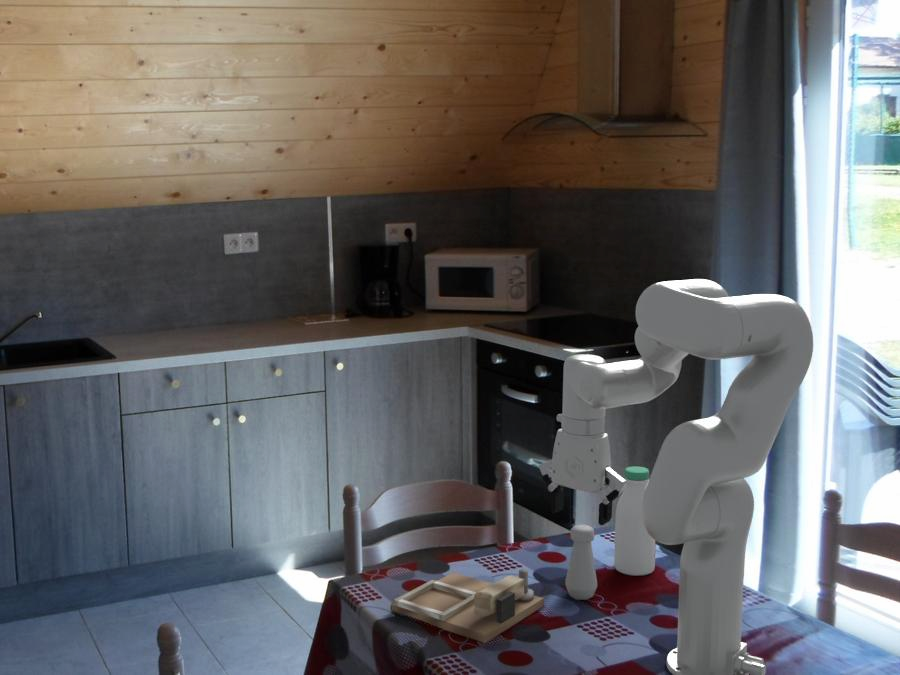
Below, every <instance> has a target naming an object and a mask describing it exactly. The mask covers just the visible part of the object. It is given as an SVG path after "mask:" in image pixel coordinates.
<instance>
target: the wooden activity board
mask: <svg viewBox="0 0 900 675" xmlns="http://www.w3.org/2000/svg"><path fill="white" fill-rule="evenodd" d="M518 578H522V579H524V596H522V597H520V598H519V599H517V600H515V593H513V592H508V593H507V594H505V595H503V596H502V597H500V598H498V599H497V611H496V612H494V613H493V614H491V615H489V616H478V615H476V614H475V613H474V595H475V594H476V593H478V592H479V591H481V590H483V589H485V588H487V587H489V586H491V585H493V584H494V583H492V582H488V581H484V580H481V579H478V578H473V577H470V576H468V575H467V576H466V575H464V574H461V573H460V574H459V573H456V572H451V573H449V574H447V575H446V576H443V577H442V578H440V579H438V580H434V579H431V580H428V582H425V583H423V584H421V585H419V586H418V587H416V588H413V589H412V590H410V591H408V592H406V593H404V594H402V595H400V596H398V597H396V598H394V599H393V603H392V604H391V611H392V610H393V611H396V612H399V613H402V614H405V615H408V616H411V617H413V618H416V619H419V620H422V621H424V622H426V623H429V624H431V625H430V626H432V625H434V626H433V627H435V626H437V627H436V628H438V627H439V628H438V629H441V628H442V629H441V630H444V631H447V632H450V633H454V634H457V635H460V636H462V637H466V638H469V639H471V640H476V641H478V642H481V643H484V644H486V643H488V642H489V641H491V640H492V639H494V638H496V637H497V636H499V635H500V634H501V633H503V632H505V631H507V630H508V629H510V628H512V627H513V626H515V625H516V624H518V623H519V622H521V621H522V620H524V619H526V618H527V617H529V616H531V615H533V613H535V612H537V611H539V610H540V609H542V608H543V607H544V606H545V605H544V603H545V598H544V597H541V596H538V595H536V594H535V595H534V590H533V589H531V588H529V570H528V569H524V568H523V569H519V570H518ZM426 623H425V624H426ZM429 624H428V625H429Z"/></svg>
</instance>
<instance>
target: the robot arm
mask: <svg viewBox="0 0 900 675" xmlns="http://www.w3.org/2000/svg"><path fill="white" fill-rule="evenodd" d="M636 302H637V303H636V305H635V320H636V323H637V325H638V327H637V328H636V329H635V333H634V343H635V347H636V350H637V351H638V353H639V354H640V356H641V357H639V358H638V359H630V360H623V361H615V362H610V363H607V362H606V360H605V359H604V358H603V357H601V356H599V355H595V354H589V353H588V354H585V353H584V354H582V353H580V354H573V355H570V356H568V357H567V358H566V359H565V360H564V363H563V374H562V377H563V378H562V379H563V380H562V381H563V382H562V413H558V414H557V415H556V421H557V422H560V423H561V425H560V426H561V428H558V430H557V431H556V435H555V439H554V440H555V441H554V445H553V451H552V458H551V459H550V460H547V461H544V462H542V463H540V464H538V468H539V471H540V473H541V475H542V479H543V482H545V484H546V485H547V489H548V491H549V492H550V507H551V508H550V510H551V514H556V513H558V512H560V511H563V510H564V503H565V502H564V501H565V500H564V499H565V496H564V495H565V490H564V488H567V489H573V490H577V491H581V492H584V493H592V494H597V496H598V498H599V499H600V501H601V502H600V503H599V504H598V523H597V524H599V525H600V526H604V525H606V524H607V523H609V522H610V521H611V519H612V518H613V502H614V501H615V500H616V499H617V498H619V496H621V495H622V493H623V491H624V488H625V486H626V485H627V481H626V480H625V478H623V477H622V476H621V475H620V474H618V473H617V472H616V471H614V470H613V469H612V457H611V448H610V446H611V445H610V442H609V440H610V439H609V436H608V433H605V431H606V410H607V409H613V408H619V407H623V406H629V405H637V404H642V403H643V404H644V403H648V402H650V401H652V400H654V399H656V398H657V397H659V396H661V394H663V393H664V392H665V391H666V390H669V388H670V387H671V386H673V385H674V384H675V382H676V381H677V379H678V378H679V376H680V372H681V369H682V362H683V360H684V359H685V357H687V356H688V355H691V356H695V357H698V358H701V359H705V360H714V361H716V360H726V359H727V360H728V359H735V358H743V357H750V356H752V358H751V360H750V361H749V362H748V363H747V364H746V365H745V367H744V368H743V369H742V370H741V371H740V372H739V373H738V374H737V375H736V376H735V378H734V379H733V381H732V383H731V384H730V386H729V388H728V391H727V394H726V397H725V398H724V401H723V403H722V405H721V407H720V408H719V410H718V412H716V413H715V414H714V415H712V416H709V417H706V418H699V419H693V420H689V421H685V422H683V423H681V424H679V425H677V426H676V427H674V428H673V429H672V430H671V431H670V432H669V433H668V435H666V437H665V439H664V440H663V441H662V442H663V443H662V445H661V446H660V447H661V448H660V449H659V452H658V455H657V458H656V461H655V463H654V465H653V468H652V472H651V474H650V475H649V481H648V484H647V487H646V490H645V493H644V496H643V501H642V519H643V523H644V526H645V529H646V531H647V532H648V534H649V535H650V536H651V537H652V538H653V539H654V540H656V542H658V543H660V544H663V545H666V546H667V545H668V546H672V545H673V546H674V545H681V544H683V546H682V550H681V554H680V559H679V560H680V562H679V579H678V580H679V583H678V610H677V611H678V612H677V613H678V614H677V617H678V618H677V642H676V644H677V645H676V648H674V649H672V650H671V651H669V653H668V654H667V656H666V667H667V670H668V671H669V672H670V673H671V675H749V674H750V675H766V673H767V666H766V665H765V664H764V662H765V659H764V658H763V657H760V656H759V657H758V656H753V655H751V654H750V653H749V652H747V651H748V644H747V643H746V642H744V641H742V627H743V625H742V624H743V620H742V619H743V601H744V600H743V599H744V598H743V597H744V580H745V579H744V577H745V565H746V563H745V562H746V551H747V543H748V538H749V533H750V530H751V526H752V522H753V518H754V511H755V498H754V493H753V490H752V488H751V486H750V485H749V482H747V480H746V479H745V478H748V477H749V478H750V477H751V476H754V475H756V474H757V473H758V472H760V470H761V469H762V467H764V464H765V463H766V461H767V458H768V456H769V454H770V451H771V449H772V447H773V444H774V443H775V440H776V438H777V436H778V434H779V431H780V430H781V427H782V424H783V422H784V419H785V417H786V414H787V412H788V410H789V407H790V406H791V403H792V402H793V399H794V397H795V396H796V394H797V392H798V391H799V389H800V387H801V386H802V383H803V382H804V380H805V377H806V376H807V373H808V371H809V368H810V364H811V362H812V358H813V353H814V336H813V329H812V325H811V321H810V319H809V317H808V315H807V313H806V312H805V310H804V308H803V307H802V306H801V304H799V303H798V302H797V301H795V300H794V299H792V298H790V297H788V296H784V295H781V294H775V293H774V294H773V293H757V294H756V293H755V294H747V295H745V294H743V295H736V296H729V294H728V292H727V291H726V289H725V288H724V287H723V286H722V285H720V284H719V283H717V282H715V281H712V280H710V279H704V278H693V279H682V280H667V281H660V282H655V283H653V284H651V285H650V286H648V287H646V288H645V289H644V290H643V291H642V293H641V294H640V295H639V298H638V300H637V301H636ZM611 482H612V483H613V484H614V485H615V487H614V489H613V490H612V488H611V487H610V485H611Z"/></svg>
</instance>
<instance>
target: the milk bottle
mask: <svg viewBox="0 0 900 675" xmlns="http://www.w3.org/2000/svg"><path fill="white" fill-rule="evenodd" d="M624 479H625V480H626V481H627V485H626V486H625V488H624V490H623V491H622V494H621V495H620V497H619V499H618V502H617V504H616V510H615V518H614V519H615V520H614V522H615V523H614V524H615V525H614V561H613V562H614V564H613V565H614V568H615V570H616V571H617V572H619V573H622V574H624V575H627V576H638V577H639V576H646V575H649V574H652V573H653V572H654V571H655V567H656V543H657V541H656V540H654V539H653V538H652V537H651V536H650V535H649V534H648V532H647V531H646V529H645V526H644V523H643V519H642V501H643V496H644V493H645V490H646V487H647V484H648V481H649V479H650V470H649V468H646V467H645V466H635V465H633V466H628V467H625V468H624Z"/></svg>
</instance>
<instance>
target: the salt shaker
mask: <svg viewBox="0 0 900 675" xmlns="http://www.w3.org/2000/svg"><path fill="white" fill-rule="evenodd" d="M594 539H595V529H594V528H593V527H591V525H586V524H577V525H576V524H575V525H574V526H573V527H572V528H570V540H572V541H573V544H572V550H571V554H570V559H569V563H568V567H567V571H566V572H567V573H566V577H565V588H566V590H567V592H568V595H569V597H571V598H573V599H575V600H576V601H577V600H584V601H587V600H589V599H591V598H593V597H594V594H595V592H596V590H597V588H598V579H597V574H596V567H595V560H594V553H593V552H594V551H593V546H592V542H593V541H594Z"/></svg>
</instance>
